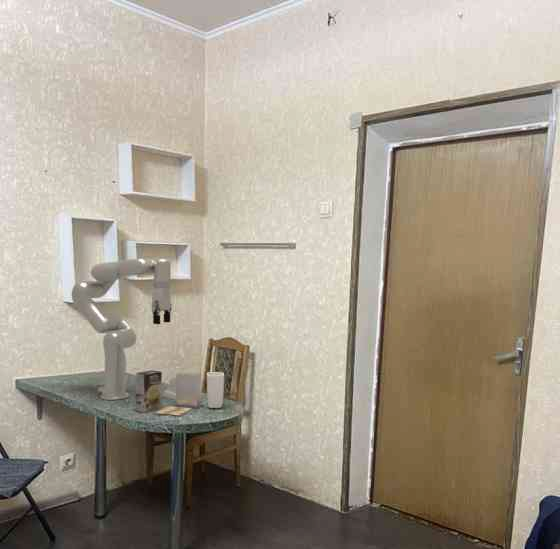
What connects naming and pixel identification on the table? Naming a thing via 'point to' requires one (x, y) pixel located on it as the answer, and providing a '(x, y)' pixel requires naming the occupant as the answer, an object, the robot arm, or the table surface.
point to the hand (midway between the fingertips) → (161, 323)
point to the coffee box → (148, 391)
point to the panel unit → (188, 390)
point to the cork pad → (172, 411)
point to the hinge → (171, 389)
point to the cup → (215, 389)
